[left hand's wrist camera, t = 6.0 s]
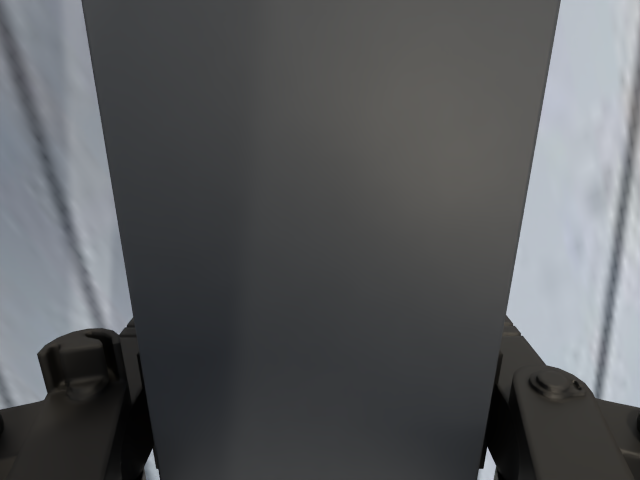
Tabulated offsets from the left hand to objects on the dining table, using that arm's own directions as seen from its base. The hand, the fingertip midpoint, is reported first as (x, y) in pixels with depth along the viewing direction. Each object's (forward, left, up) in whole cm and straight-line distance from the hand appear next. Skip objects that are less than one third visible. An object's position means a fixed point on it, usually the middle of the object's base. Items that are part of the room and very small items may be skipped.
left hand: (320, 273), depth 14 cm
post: (-2, +21, -1) cm, 22 cm away
